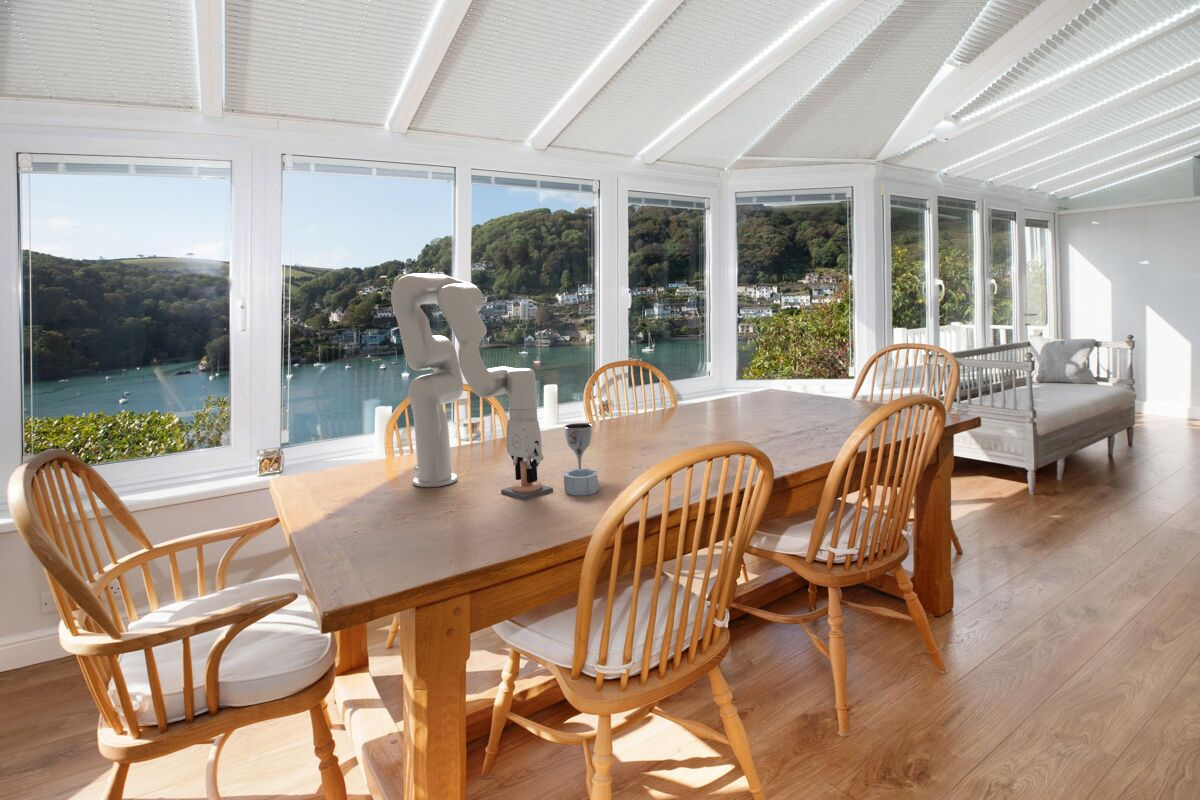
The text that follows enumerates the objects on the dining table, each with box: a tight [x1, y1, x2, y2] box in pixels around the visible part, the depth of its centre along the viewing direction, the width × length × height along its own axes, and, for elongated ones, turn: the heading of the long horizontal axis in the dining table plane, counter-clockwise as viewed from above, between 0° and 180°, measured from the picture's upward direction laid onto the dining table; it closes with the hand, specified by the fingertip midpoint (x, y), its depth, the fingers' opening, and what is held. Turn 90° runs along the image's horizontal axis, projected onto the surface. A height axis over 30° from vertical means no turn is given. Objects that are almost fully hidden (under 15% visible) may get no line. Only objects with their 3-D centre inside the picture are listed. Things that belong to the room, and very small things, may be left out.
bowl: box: [563, 468, 599, 497], centre depth 185 cm, size 9×9×5 cm
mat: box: [500, 484, 554, 501], centre depth 186 cm, size 10×10×1 cm
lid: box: [511, 459, 543, 493], centre depth 185 cm, size 8×8×8 cm
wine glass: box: [564, 422, 593, 469], centre depth 200 cm, size 8×8×15 cm
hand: (526, 479), depth 186 cm, fingers open, 4 cm apart
